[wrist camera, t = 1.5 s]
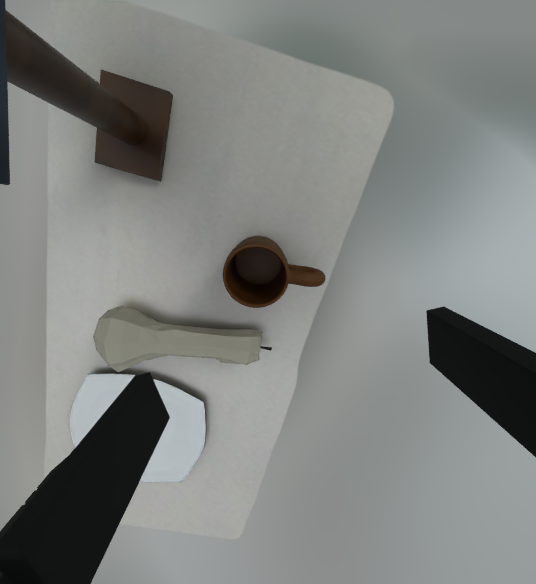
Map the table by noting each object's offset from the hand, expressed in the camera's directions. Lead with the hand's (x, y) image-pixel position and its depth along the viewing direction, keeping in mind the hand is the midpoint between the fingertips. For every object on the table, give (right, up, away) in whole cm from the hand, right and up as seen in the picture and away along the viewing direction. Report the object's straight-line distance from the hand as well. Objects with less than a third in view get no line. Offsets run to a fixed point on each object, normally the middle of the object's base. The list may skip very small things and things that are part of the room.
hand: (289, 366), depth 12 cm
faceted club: (-13, -3, +28) cm, 31 cm away
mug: (0, +8, +25) cm, 26 cm away
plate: (-23, -20, +33) cm, 45 cm away
